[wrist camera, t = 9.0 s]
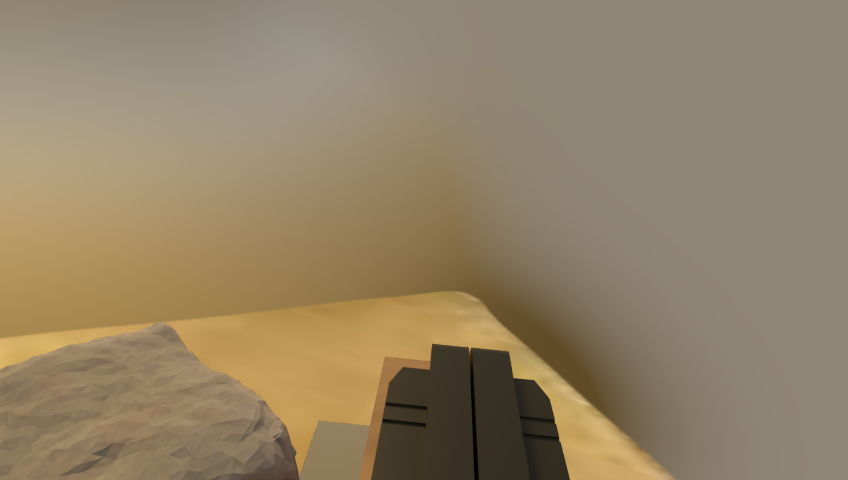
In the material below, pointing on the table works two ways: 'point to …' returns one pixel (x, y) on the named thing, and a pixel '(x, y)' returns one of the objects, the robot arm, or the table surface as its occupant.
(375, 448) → the walnut block
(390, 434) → the robot arm
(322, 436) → the felt pad
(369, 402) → the table surface
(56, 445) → the stone block
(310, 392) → the table surface
